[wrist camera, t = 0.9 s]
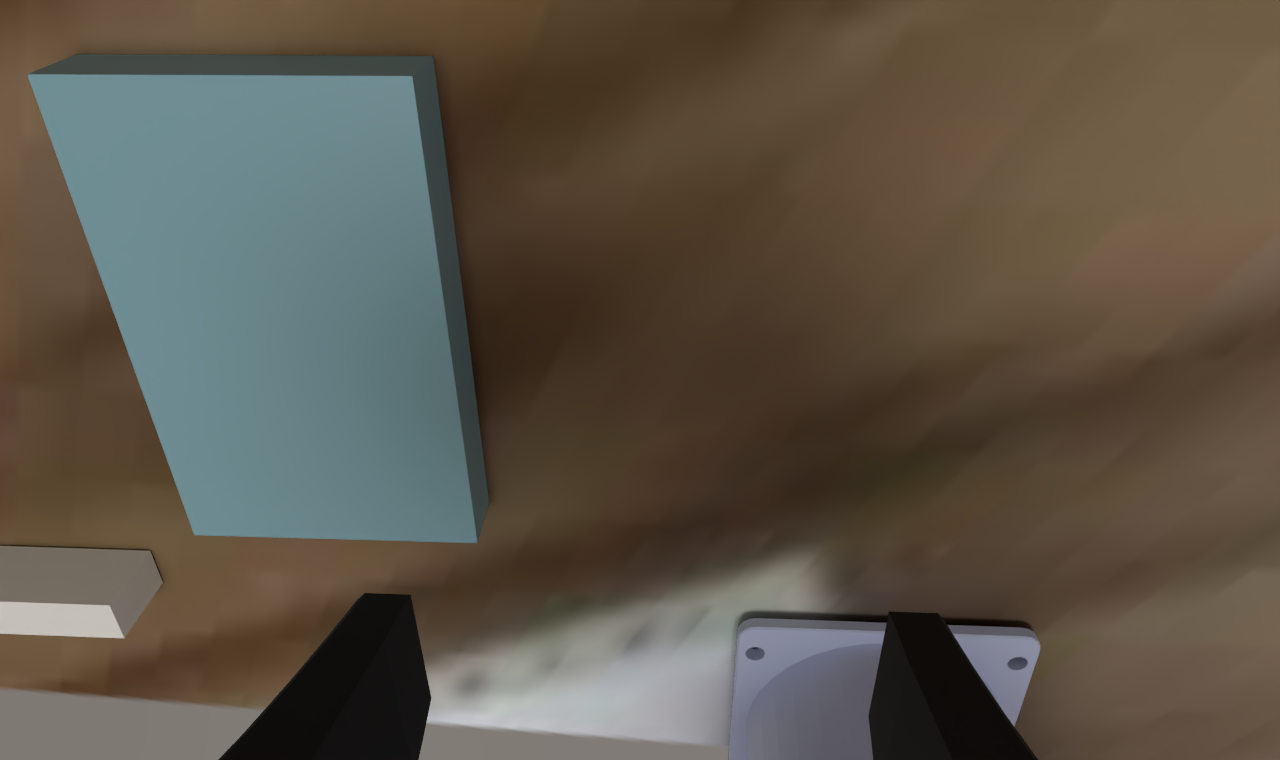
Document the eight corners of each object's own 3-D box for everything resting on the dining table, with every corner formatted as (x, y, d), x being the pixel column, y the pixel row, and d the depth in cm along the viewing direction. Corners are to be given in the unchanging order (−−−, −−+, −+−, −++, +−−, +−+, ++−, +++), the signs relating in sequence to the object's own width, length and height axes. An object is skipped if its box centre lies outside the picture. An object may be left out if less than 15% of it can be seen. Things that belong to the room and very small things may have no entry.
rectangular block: (492, 490, 23) (477, 543, 22) (229, 483, 24) (194, 535, 22) (439, 50, 18) (412, 75, 16) (90, 49, 18) (26, 74, 16)
